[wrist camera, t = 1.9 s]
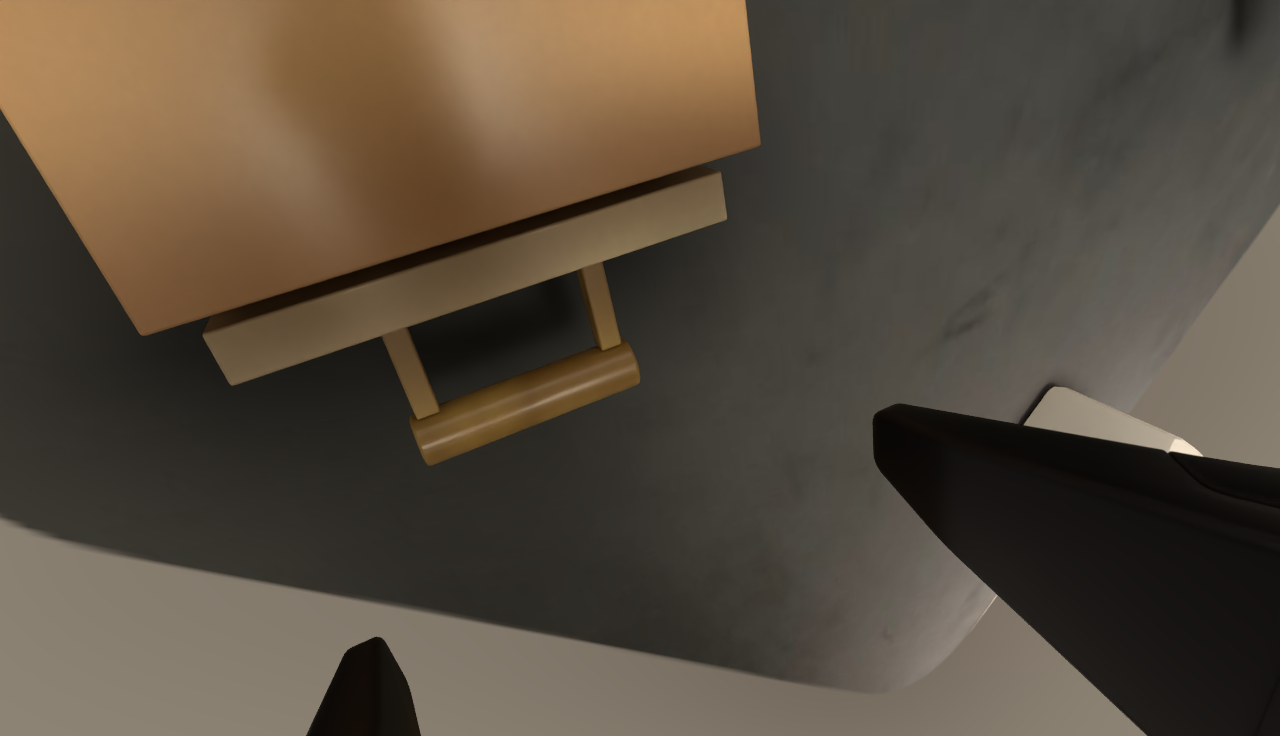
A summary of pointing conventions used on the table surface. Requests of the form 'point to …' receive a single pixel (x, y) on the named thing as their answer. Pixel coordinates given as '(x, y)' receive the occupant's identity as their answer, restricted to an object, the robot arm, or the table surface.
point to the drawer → (469, 277)
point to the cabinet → (350, 126)
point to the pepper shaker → (1100, 422)
